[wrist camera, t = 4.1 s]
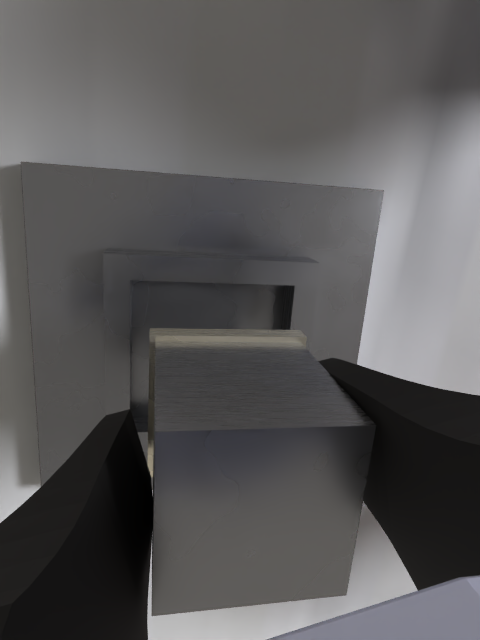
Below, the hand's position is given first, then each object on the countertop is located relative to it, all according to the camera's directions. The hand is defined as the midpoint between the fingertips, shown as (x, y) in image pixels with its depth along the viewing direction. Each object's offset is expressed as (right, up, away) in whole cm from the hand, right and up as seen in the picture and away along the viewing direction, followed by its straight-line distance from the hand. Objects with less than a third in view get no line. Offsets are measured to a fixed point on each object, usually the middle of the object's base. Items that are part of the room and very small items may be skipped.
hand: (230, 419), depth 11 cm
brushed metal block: (0, 0, +1) cm, 2 cm away
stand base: (-1, +2, +6) cm, 6 cm away
